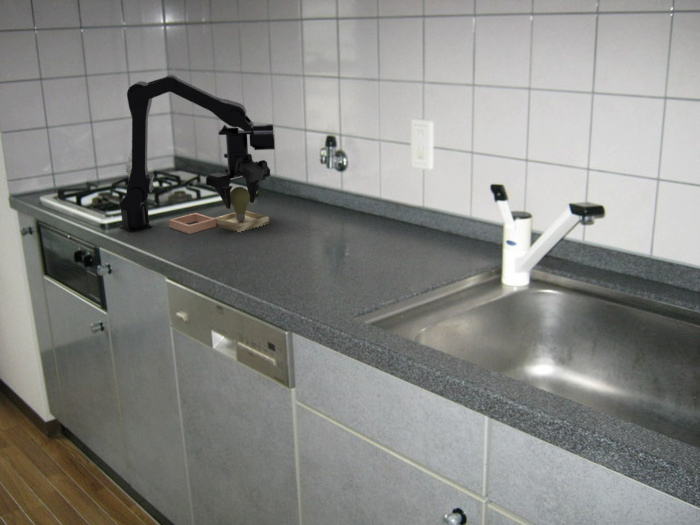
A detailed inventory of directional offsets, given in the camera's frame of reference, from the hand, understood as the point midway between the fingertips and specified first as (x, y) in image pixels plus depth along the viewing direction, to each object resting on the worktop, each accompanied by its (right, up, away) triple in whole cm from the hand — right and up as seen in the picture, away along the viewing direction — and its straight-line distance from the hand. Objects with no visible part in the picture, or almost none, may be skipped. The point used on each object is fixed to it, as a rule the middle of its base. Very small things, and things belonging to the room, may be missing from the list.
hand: (240, 205), depth 215 cm
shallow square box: (-13, -6, 0) cm, 15 cm away
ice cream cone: (-38, +5, +33) cm, 50 cm away
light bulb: (0, -5, +1) cm, 5 cm away
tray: (0, -5, +2) cm, 6 cm away
